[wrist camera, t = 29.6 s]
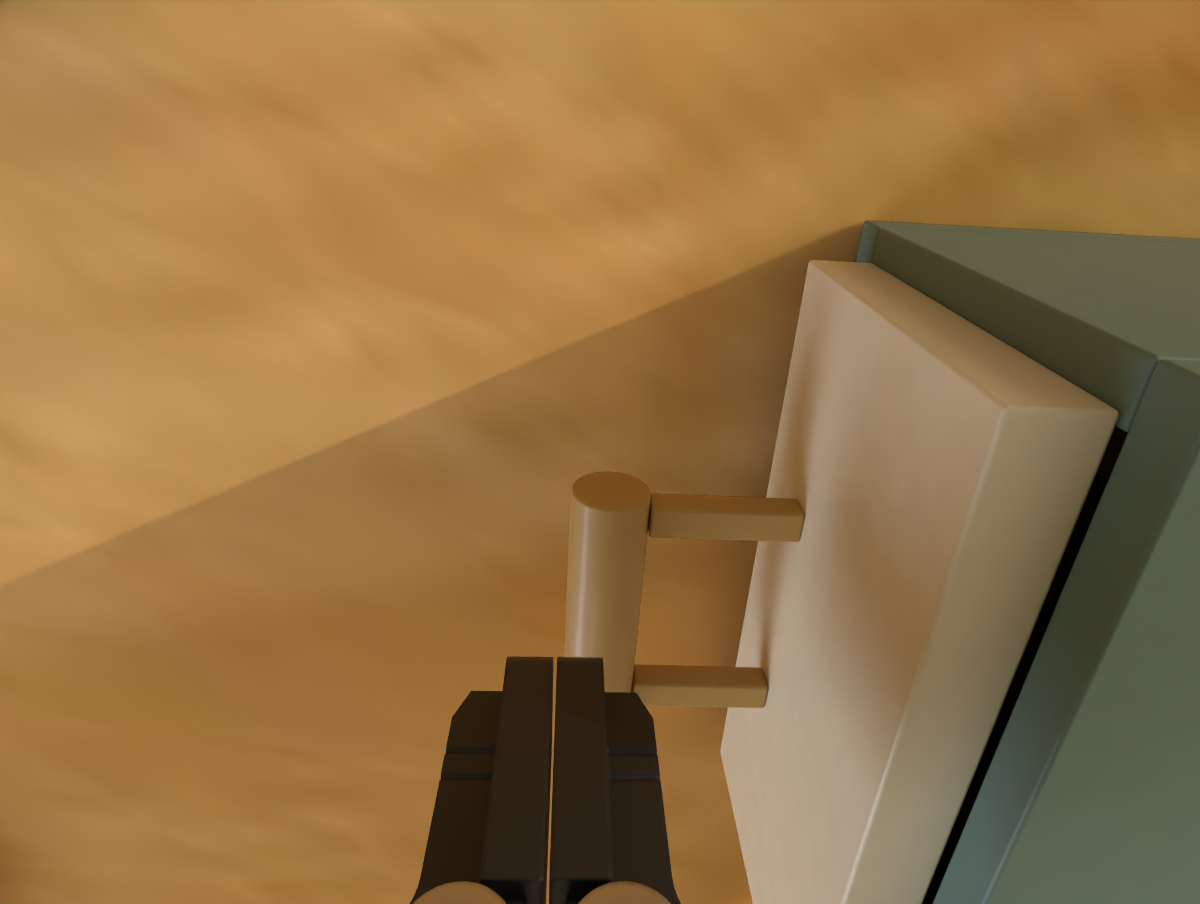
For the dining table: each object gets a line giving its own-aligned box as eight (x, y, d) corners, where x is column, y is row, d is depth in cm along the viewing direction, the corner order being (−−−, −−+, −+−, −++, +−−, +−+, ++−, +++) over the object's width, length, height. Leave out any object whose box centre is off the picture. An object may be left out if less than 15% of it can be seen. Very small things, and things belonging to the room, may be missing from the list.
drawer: (558, 747, 18) (548, 1072, 12) (580, 246, 13) (583, 388, 7) (1225, 759, 19) (1522, 1069, 13) (1510, 295, 14) (2241, 459, 8)
